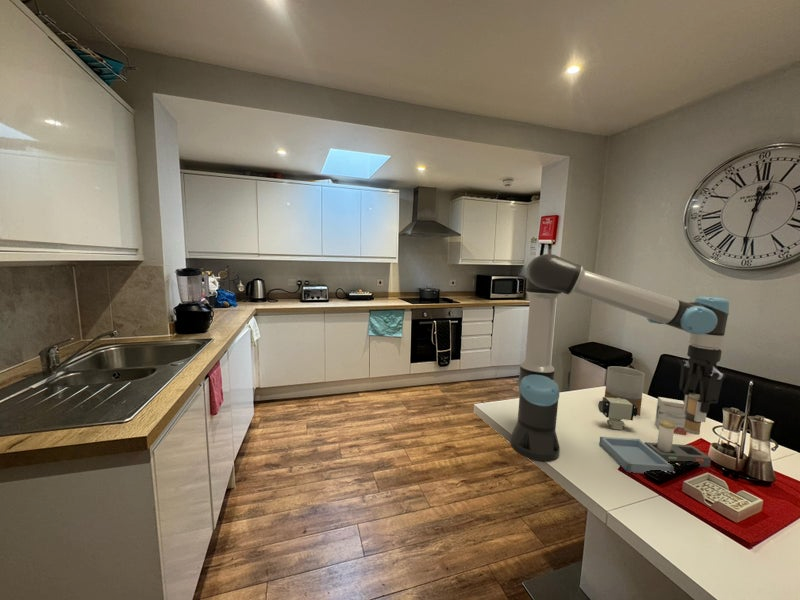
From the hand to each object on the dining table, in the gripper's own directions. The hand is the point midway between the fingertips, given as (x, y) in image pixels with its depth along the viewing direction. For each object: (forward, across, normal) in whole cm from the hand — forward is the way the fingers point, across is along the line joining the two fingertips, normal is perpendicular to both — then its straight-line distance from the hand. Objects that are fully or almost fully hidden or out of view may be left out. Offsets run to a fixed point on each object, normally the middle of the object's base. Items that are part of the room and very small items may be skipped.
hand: (693, 417), depth 101 cm
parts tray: (+14, -2, +18) cm, 23 cm away
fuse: (+14, 0, +8) cm, 16 cm away
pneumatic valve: (+15, +19, +12) cm, 27 cm away
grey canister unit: (+15, +35, 0) cm, 38 cm away
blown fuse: (+5, 0, 0) cm, 5 cm away
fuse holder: (+14, 0, +4) cm, 15 cm away
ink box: (+14, +20, -9) cm, 26 cm away
